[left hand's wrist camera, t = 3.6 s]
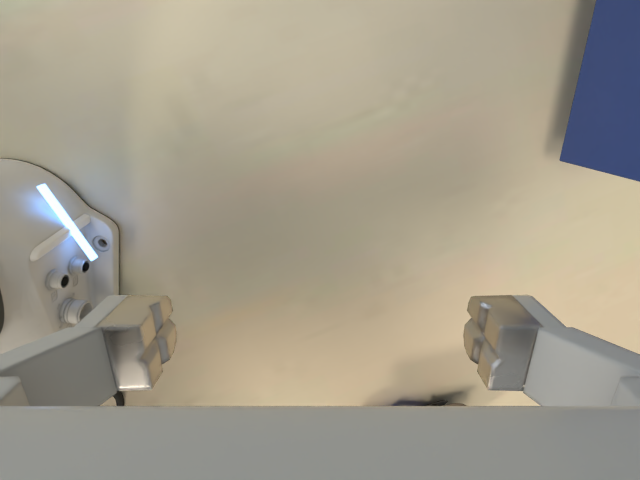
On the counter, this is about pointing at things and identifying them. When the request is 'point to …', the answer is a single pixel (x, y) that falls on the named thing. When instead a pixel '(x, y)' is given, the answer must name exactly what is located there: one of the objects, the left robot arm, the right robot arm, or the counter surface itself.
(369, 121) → the counter surface
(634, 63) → the box
